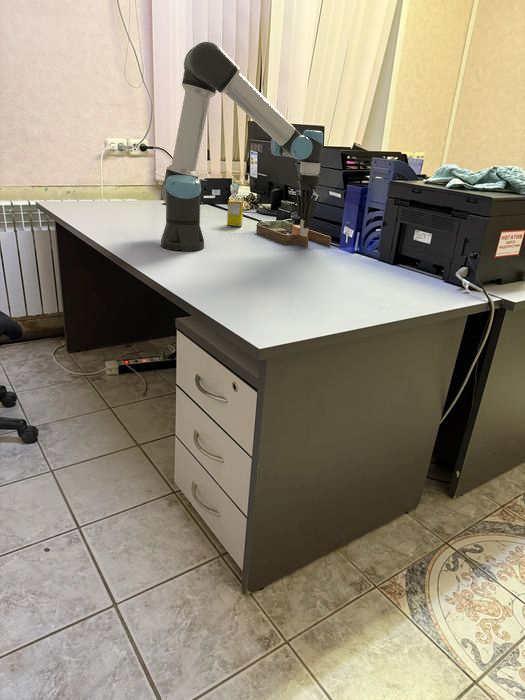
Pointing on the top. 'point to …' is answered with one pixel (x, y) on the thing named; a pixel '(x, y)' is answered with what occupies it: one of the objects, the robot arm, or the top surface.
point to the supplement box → (235, 213)
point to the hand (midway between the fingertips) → (303, 235)
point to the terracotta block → (297, 230)
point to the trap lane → (279, 230)
